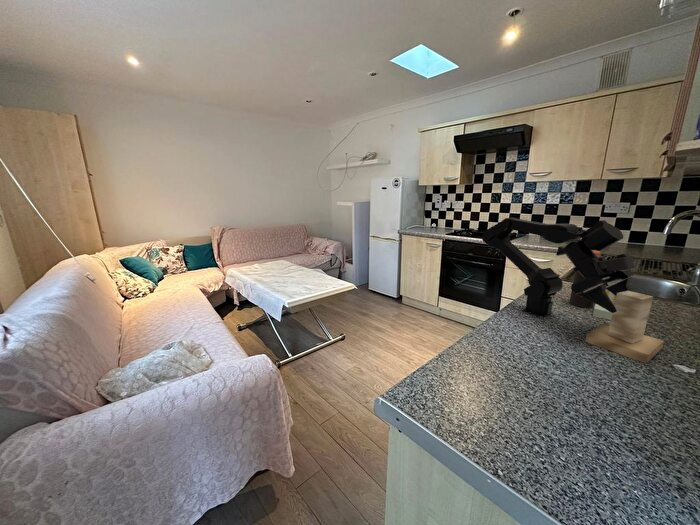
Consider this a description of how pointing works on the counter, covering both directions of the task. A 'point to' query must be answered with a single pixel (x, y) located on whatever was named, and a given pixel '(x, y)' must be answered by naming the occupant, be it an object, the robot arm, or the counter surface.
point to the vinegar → (578, 299)
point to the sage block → (602, 312)
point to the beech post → (630, 316)
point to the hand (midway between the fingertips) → (624, 309)
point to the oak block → (625, 344)
